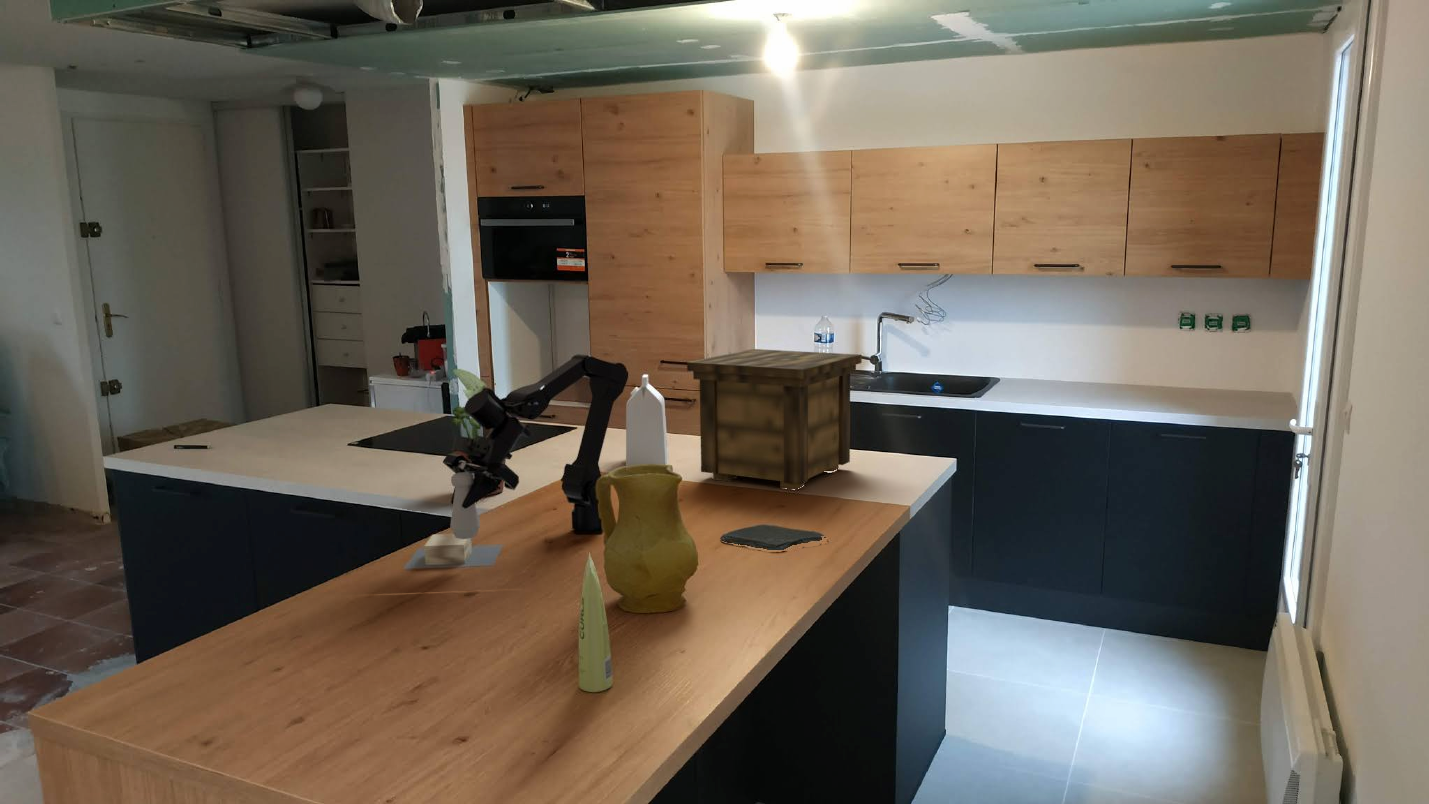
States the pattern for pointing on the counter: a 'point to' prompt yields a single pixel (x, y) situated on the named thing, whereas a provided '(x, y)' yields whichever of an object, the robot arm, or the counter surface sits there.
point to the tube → (593, 636)
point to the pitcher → (645, 538)
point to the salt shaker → (463, 519)
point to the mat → (477, 558)
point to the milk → (646, 426)
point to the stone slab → (770, 537)
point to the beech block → (447, 550)
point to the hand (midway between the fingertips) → (458, 506)
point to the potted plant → (473, 387)
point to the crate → (774, 414)
